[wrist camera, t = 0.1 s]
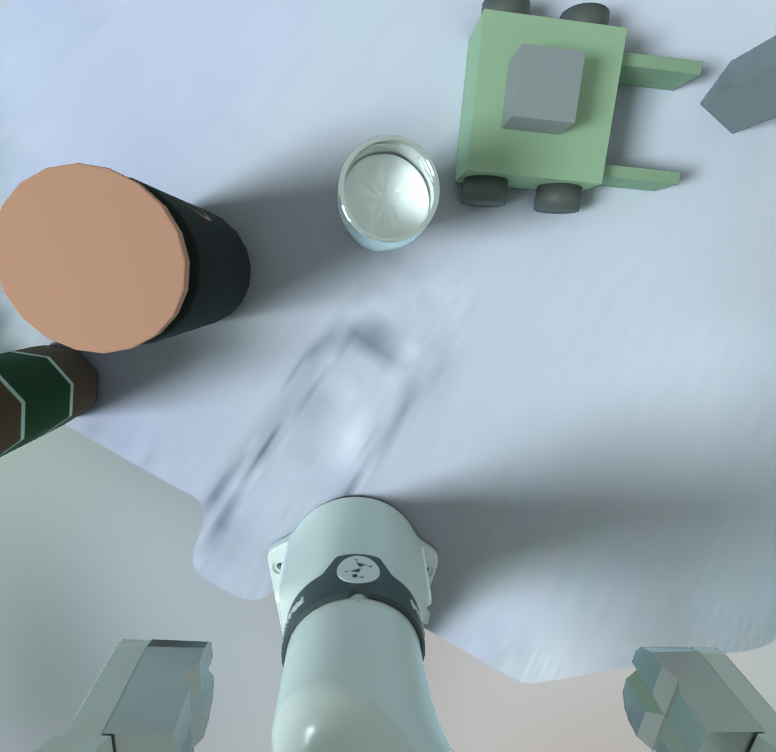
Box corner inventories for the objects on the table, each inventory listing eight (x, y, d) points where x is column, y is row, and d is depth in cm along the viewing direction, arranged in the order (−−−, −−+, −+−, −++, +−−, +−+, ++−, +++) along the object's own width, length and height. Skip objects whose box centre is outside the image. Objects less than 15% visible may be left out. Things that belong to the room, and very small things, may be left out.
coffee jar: (249, 209, 43) (175, 162, 25) (257, 323, 45) (195, 352, 28) (131, 209, 42) (-27, 161, 25) (145, 324, 44) (9, 356, 27)
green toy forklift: (648, 222, 46) (708, 211, 38) (452, 203, 44) (472, 188, 36) (682, 43, 42) (755, -10, 35) (471, 15, 41) (498, -47, 33)
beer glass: (374, 163, 43) (384, 105, 28) (429, 216, 44) (465, 185, 30) (326, 221, 44) (312, 194, 29) (381, 271, 45) (394, 268, 30)
